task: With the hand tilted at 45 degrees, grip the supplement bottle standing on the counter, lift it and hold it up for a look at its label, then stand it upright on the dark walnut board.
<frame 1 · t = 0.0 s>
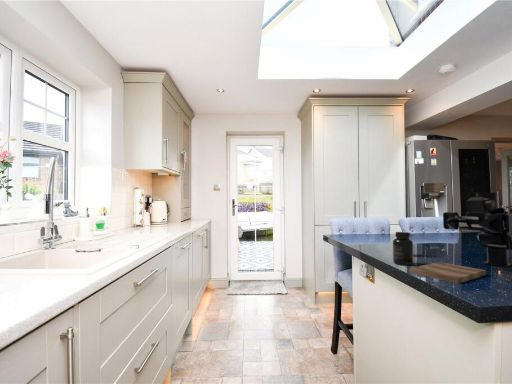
hand: (462, 223, 89), 17 cm above the countertop, tool horizontal, fingers open, 9 cm apart
supplement bottle: (403, 264, 103), on the countertop
supplement bottle 2: (402, 255, 120), on the countertop
walnut board: (447, 273, 88), on the countertop
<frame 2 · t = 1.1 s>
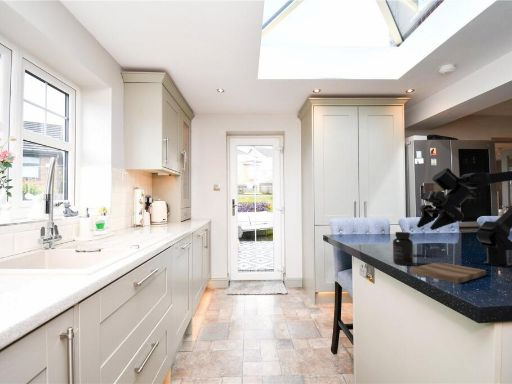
hand: (424, 227, 103), 14 cm above the countertop, tool tilted 45°, fingers open, 9 cm apart
nothing on the countertop moved.
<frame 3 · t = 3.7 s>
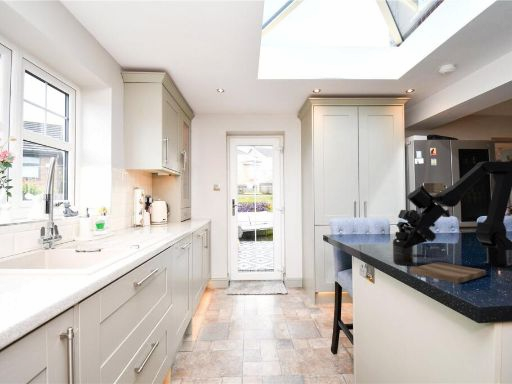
hand: (398, 246, 103), 7 cm above the countertop, tool tilted 45°, fingers closed on supplement bottle, 7 cm apart
supplement bottle: (403, 264, 103), on the countertop, touching gripper
everything else where it was.
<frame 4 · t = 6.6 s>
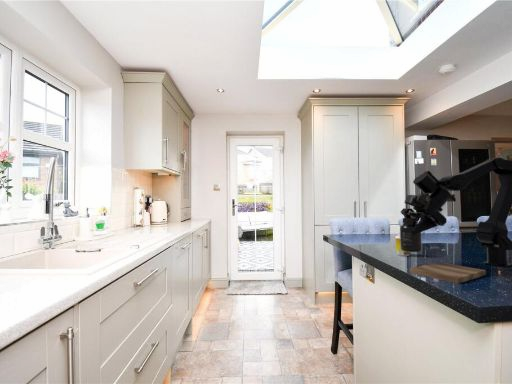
hand: (406, 232, 100), 12 cm above the countertop, tool tilted 45°, fingers closed on supplement bottle, 7 cm apart
supplement bottle: (411, 251, 100), point 5 cm above the countertop, touching gripper
everything else where it was.
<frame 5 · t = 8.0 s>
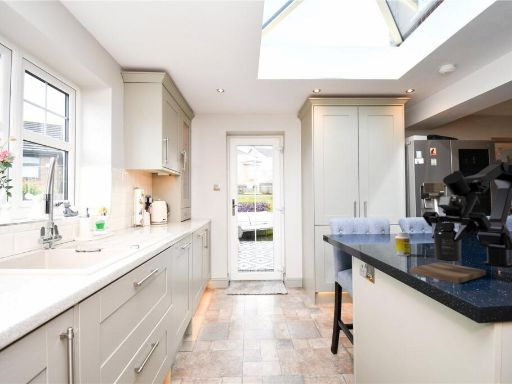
hand: (443, 239, 88), 11 cm above the countertop, tool tilted 45°, fingers closed on supplement bottle, 7 cm apart
supplement bottle: (447, 260, 88), point 4 cm above the countertop, touching gripper
everything else where it was.
when the fingers open (9 cm above the countertop, at t = 9.4 s): supplement bottle stays where it is, resting on walnut board.
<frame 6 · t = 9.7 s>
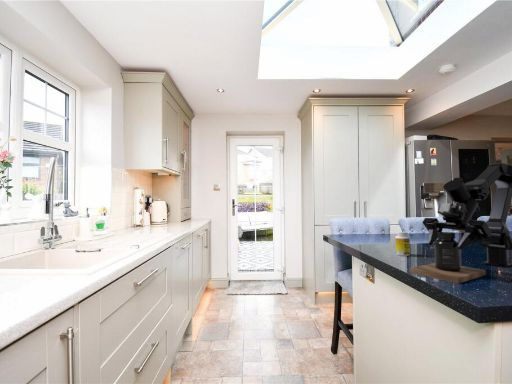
hand: (443, 246, 88), 9 cm above the countertop, tool tilted 45°, fingers open, 9 cm apart
supplement bottle: (447, 269, 88), point 1 cm above the countertop, touching walnut board
everything else where it was.
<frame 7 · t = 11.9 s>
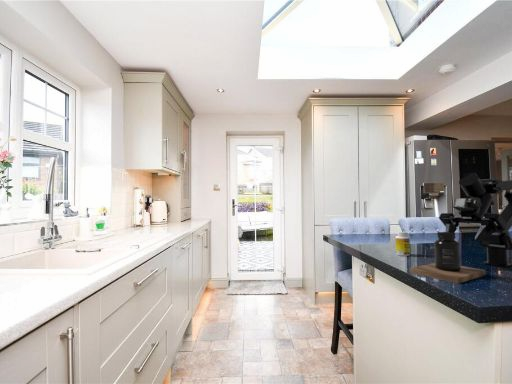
hand: (460, 239, 92), 11 cm above the countertop, tool tilted 45°, fingers open, 9 cm apart
nothing on the countertop moved.
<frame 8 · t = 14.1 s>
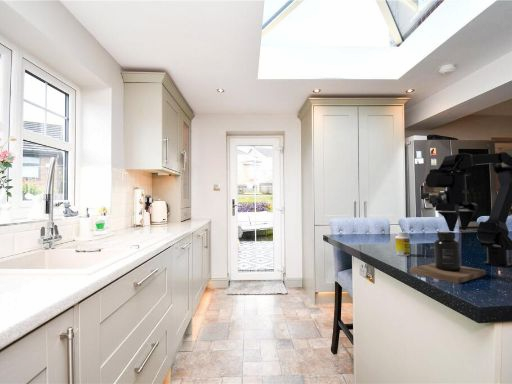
hand: (457, 230, 99), 13 cm above the countertop, tool pointing down, fingers open, 9 cm apart
nothing on the countertop moved.
at the end: supplement bottle inside the target area on the walnut board (0.2 cm from its centre), point 1.3 cm above the walnut board's base; supplement bottle tilted 0°; the gripper is holding nothing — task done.
